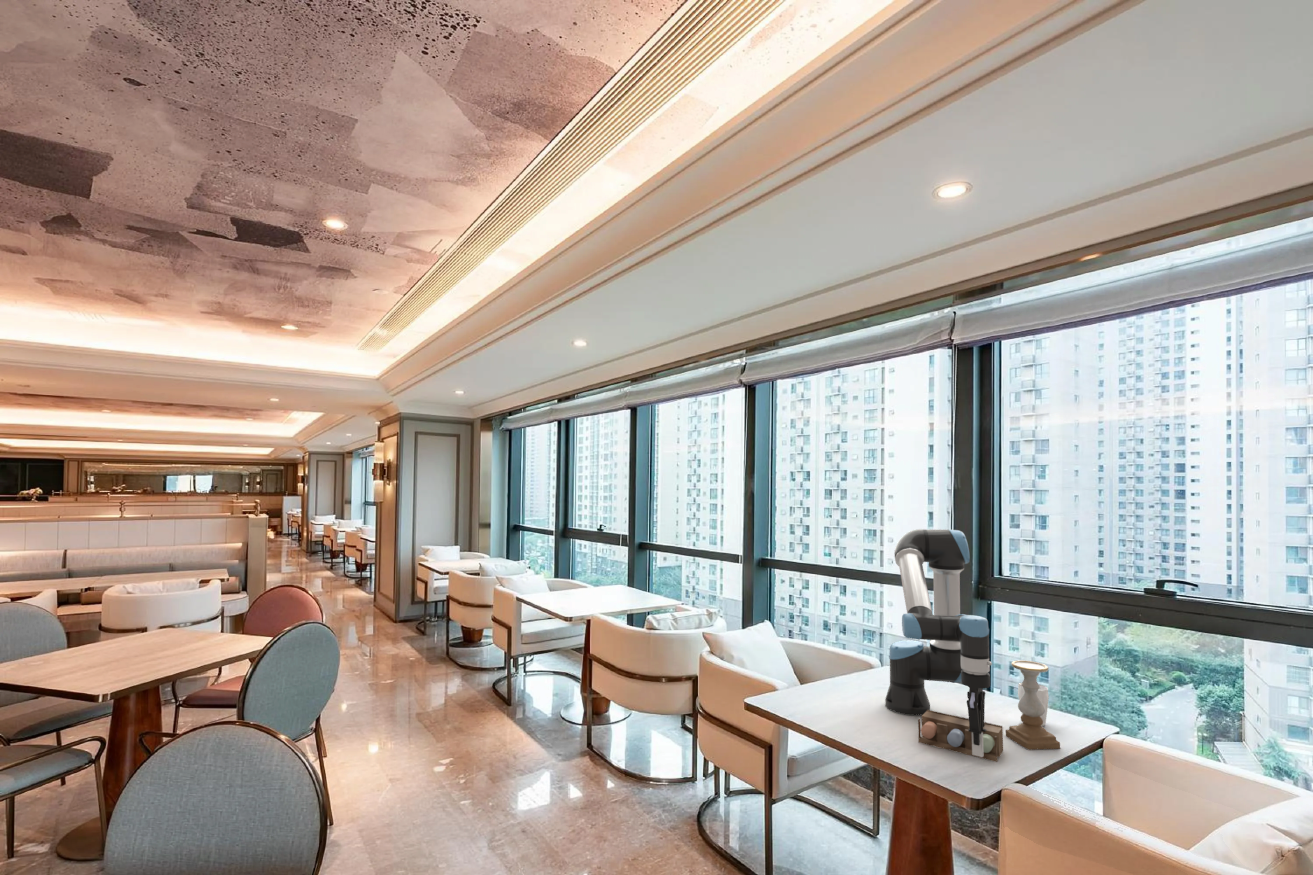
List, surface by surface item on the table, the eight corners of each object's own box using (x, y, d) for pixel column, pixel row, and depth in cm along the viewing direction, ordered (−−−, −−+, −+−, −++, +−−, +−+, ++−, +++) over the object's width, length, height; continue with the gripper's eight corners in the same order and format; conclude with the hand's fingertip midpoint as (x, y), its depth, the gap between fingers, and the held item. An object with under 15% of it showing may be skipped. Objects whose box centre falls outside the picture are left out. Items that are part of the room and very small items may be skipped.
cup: (1054, 728, 210) (1052, 691, 211) (1024, 726, 212) (1023, 689, 213) (1043, 718, 219) (1042, 683, 220) (1015, 716, 221) (1013, 681, 221)
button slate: (947, 744, 191) (946, 731, 192) (950, 740, 194) (950, 727, 195) (961, 748, 189) (961, 734, 189) (964, 744, 192) (964, 730, 192)
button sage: (977, 750, 187) (976, 736, 188) (980, 746, 191) (979, 732, 191) (992, 754, 185) (991, 739, 185) (994, 749, 188) (994, 735, 188)
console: (918, 742, 198) (917, 718, 199) (927, 732, 206) (926, 709, 207) (996, 761, 185) (995, 736, 185) (1003, 750, 193) (1002, 725, 193)
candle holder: (1004, 735, 204) (1002, 660, 206) (1037, 734, 205) (1034, 659, 207) (1027, 749, 193) (1024, 670, 195) (1061, 748, 194) (1058, 669, 196)
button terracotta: (920, 736, 197) (920, 723, 198) (924, 732, 200) (924, 719, 201) (934, 740, 195) (934, 726, 195) (937, 735, 198) (937, 722, 198)
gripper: (985, 679, 176) (988, 766, 174) (994, 668, 186) (996, 750, 184) (956, 673, 180) (958, 759, 179) (966, 663, 190) (968, 744, 189)
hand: (977, 754), depth 181 cm, fingers closed
